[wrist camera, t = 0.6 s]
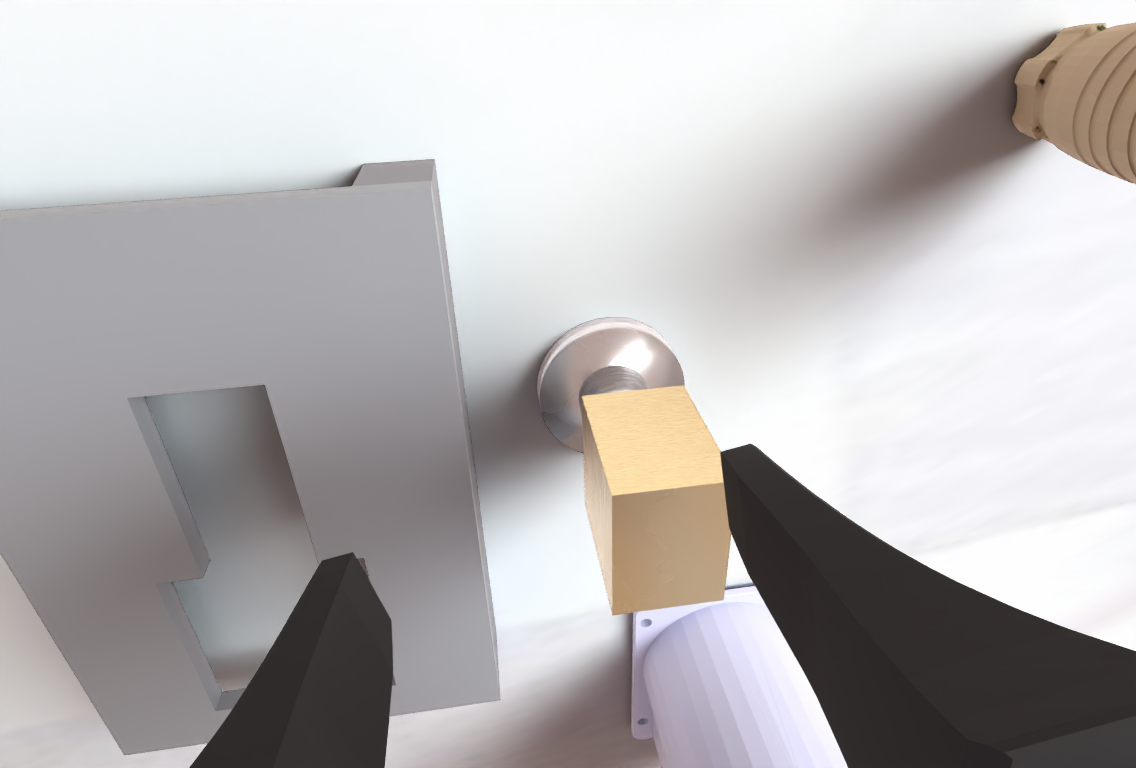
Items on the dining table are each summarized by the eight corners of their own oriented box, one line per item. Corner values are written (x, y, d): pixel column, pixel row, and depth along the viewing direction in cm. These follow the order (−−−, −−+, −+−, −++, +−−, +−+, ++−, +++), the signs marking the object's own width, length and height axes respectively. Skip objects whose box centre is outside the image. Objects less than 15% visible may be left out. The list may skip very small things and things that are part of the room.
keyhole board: (496, 632, 30) (500, 700, 27) (157, 678, 29) (124, 755, 26) (434, 159, 20) (430, 188, 17) (-96, 194, 18) (-196, 233, 16)
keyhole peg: (673, 432, 26) (758, 608, 19) (541, 447, 25) (575, 633, 18) (679, 310, 23) (780, 458, 16) (532, 324, 23) (568, 483, 16)
